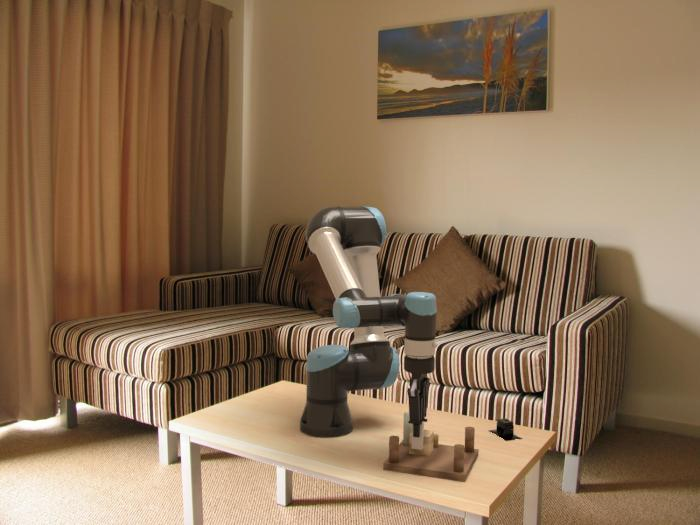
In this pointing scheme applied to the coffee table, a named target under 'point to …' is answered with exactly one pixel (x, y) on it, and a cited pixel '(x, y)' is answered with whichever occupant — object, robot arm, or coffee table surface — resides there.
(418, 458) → the stool board
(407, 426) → the gate leg
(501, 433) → the black bracket plate
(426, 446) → the maple block
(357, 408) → the coffee table surface
